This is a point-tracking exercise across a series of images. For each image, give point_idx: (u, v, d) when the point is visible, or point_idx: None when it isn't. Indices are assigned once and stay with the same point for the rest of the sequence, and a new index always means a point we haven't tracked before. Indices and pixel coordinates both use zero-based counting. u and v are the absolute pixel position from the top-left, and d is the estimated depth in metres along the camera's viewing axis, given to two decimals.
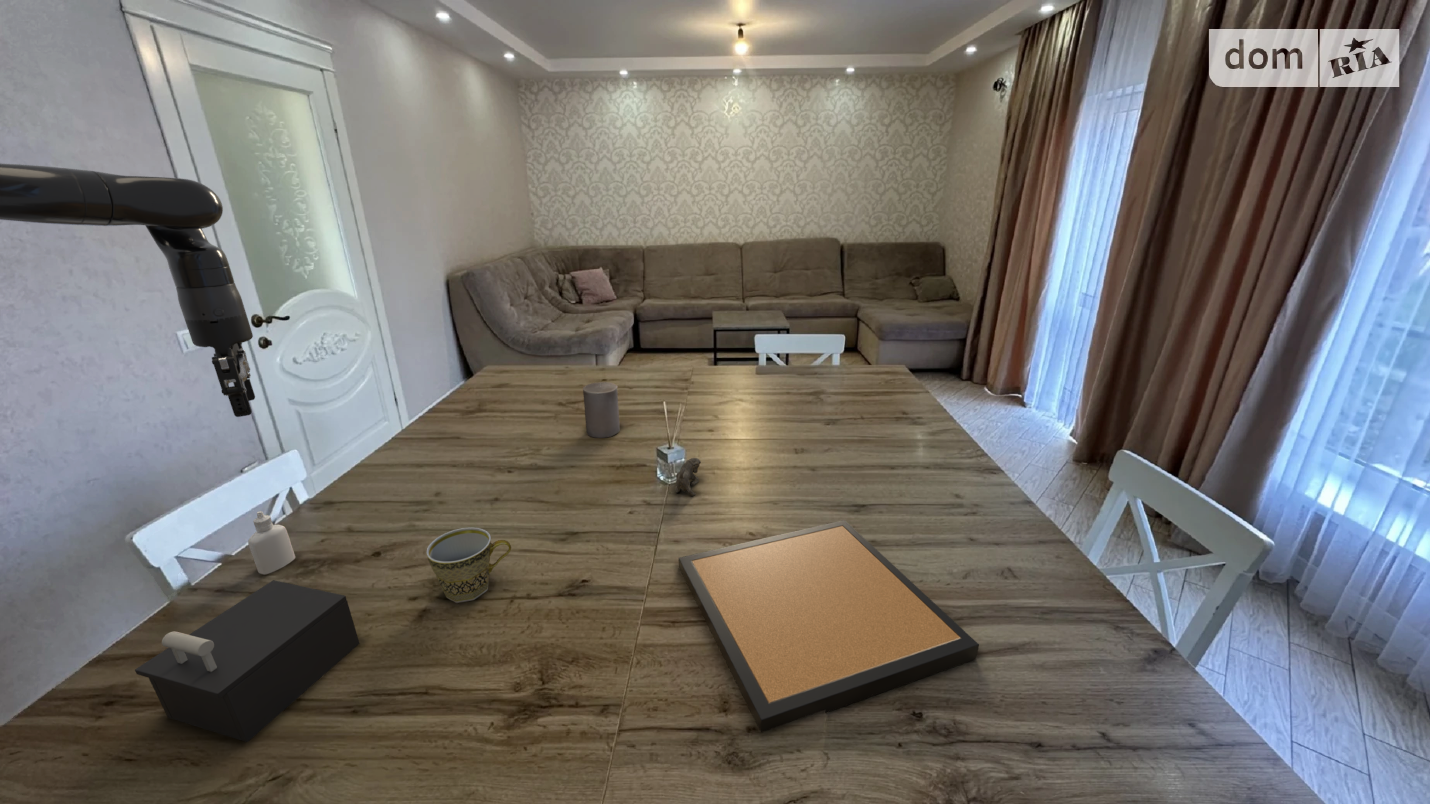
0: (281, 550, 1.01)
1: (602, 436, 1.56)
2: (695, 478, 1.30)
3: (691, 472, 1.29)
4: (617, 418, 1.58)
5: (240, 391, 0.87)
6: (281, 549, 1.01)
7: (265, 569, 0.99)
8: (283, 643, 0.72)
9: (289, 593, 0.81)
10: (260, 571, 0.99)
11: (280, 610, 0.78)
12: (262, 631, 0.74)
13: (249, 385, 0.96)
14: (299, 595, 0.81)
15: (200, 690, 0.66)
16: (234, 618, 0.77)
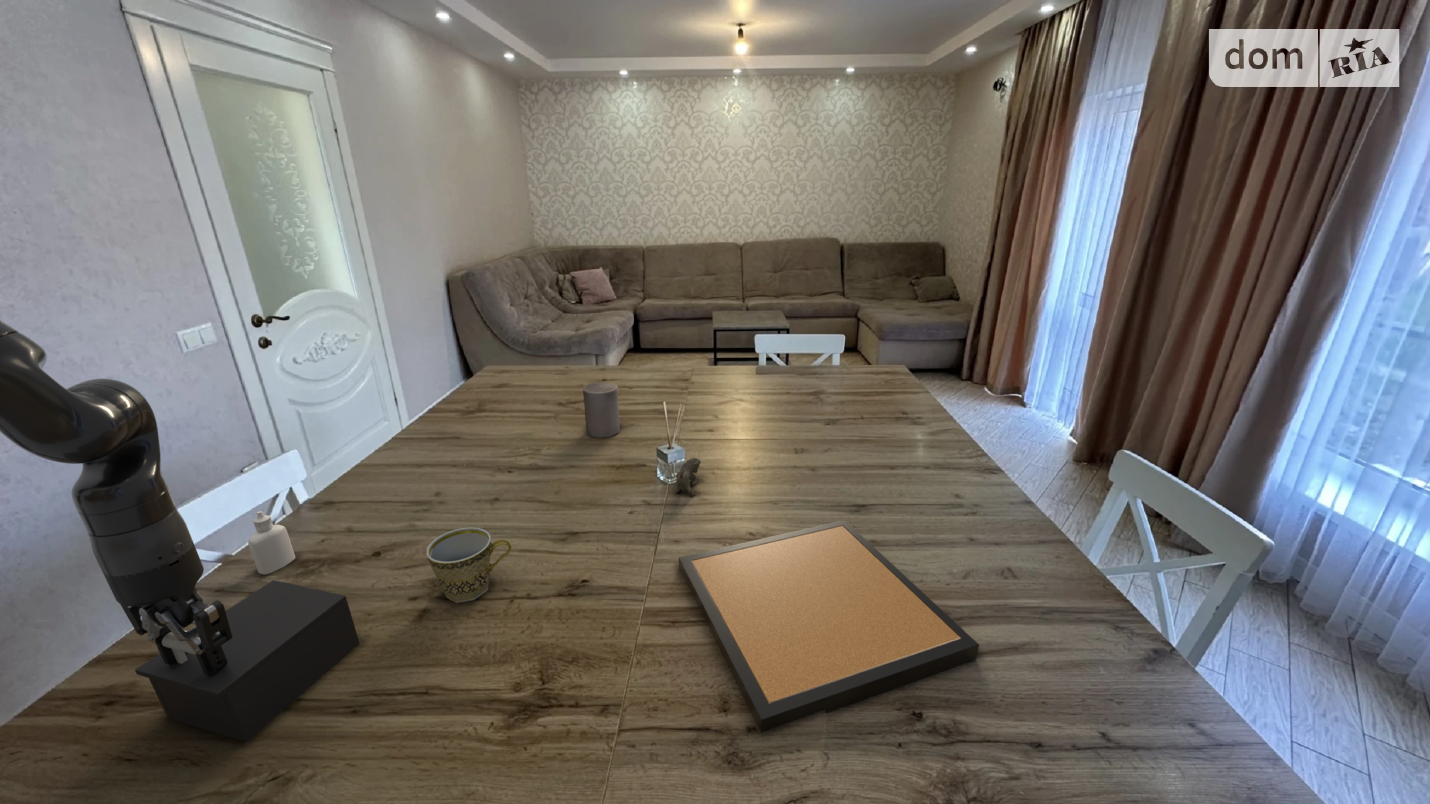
0: (281, 550, 1.01)
1: (602, 436, 1.56)
2: (695, 478, 1.30)
3: (691, 472, 1.29)
4: (617, 418, 1.58)
5: (229, 639, 0.67)
6: (281, 549, 1.01)
7: (265, 569, 0.99)
8: (283, 643, 0.72)
9: (289, 593, 0.81)
10: (260, 571, 0.99)
11: (280, 610, 0.78)
12: (262, 631, 0.74)
13: None
14: (299, 595, 0.81)
15: (200, 690, 0.66)
16: (234, 618, 0.77)
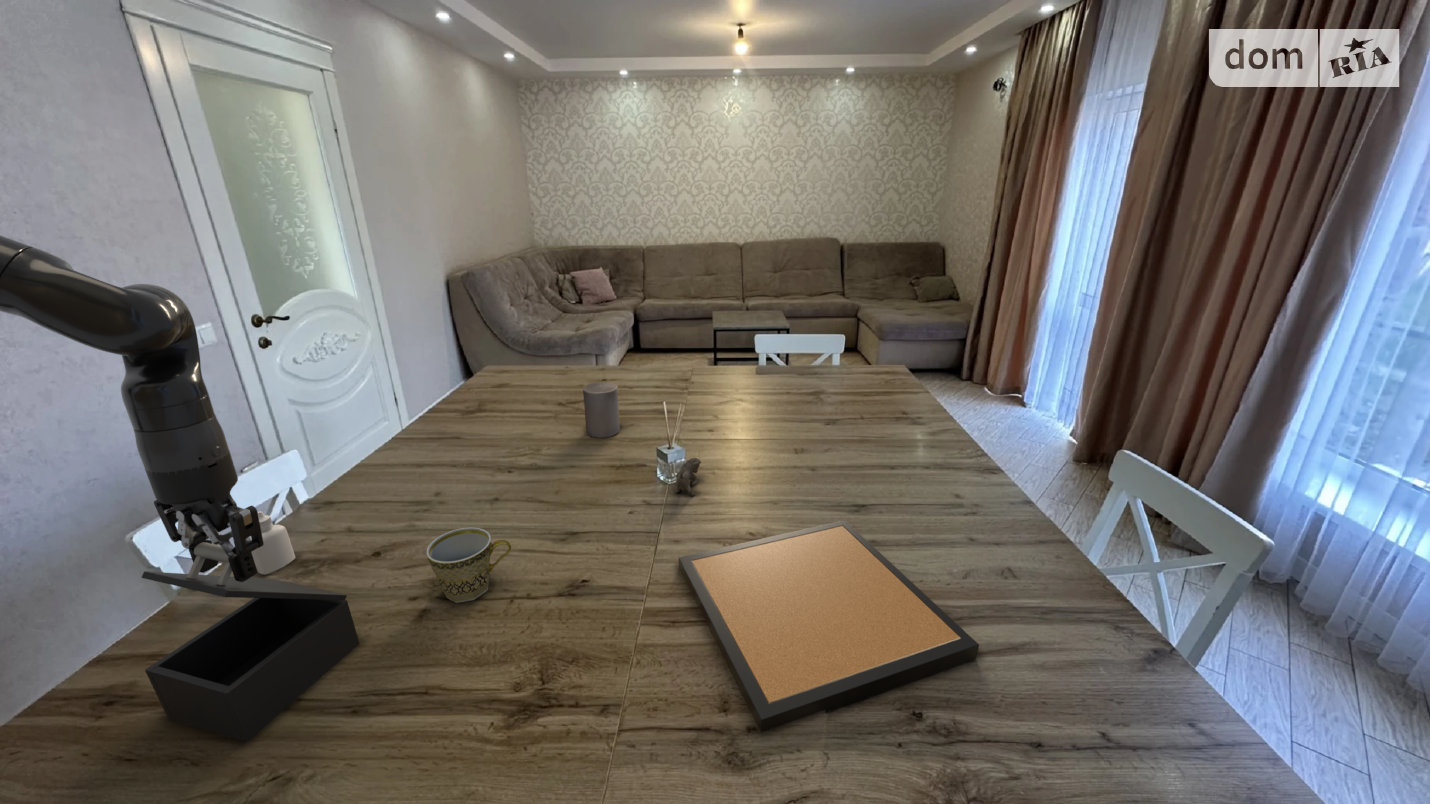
0: (281, 550, 1.01)
1: (602, 436, 1.56)
2: (695, 478, 1.30)
3: (691, 472, 1.29)
4: (617, 418, 1.58)
5: (260, 546, 0.69)
6: (281, 549, 1.01)
7: (265, 569, 0.99)
8: (288, 593, 0.72)
9: (292, 584, 0.82)
10: (260, 571, 0.99)
11: (284, 586, 0.78)
12: (268, 586, 0.74)
13: None
14: (301, 586, 0.81)
15: (208, 588, 0.66)
16: None
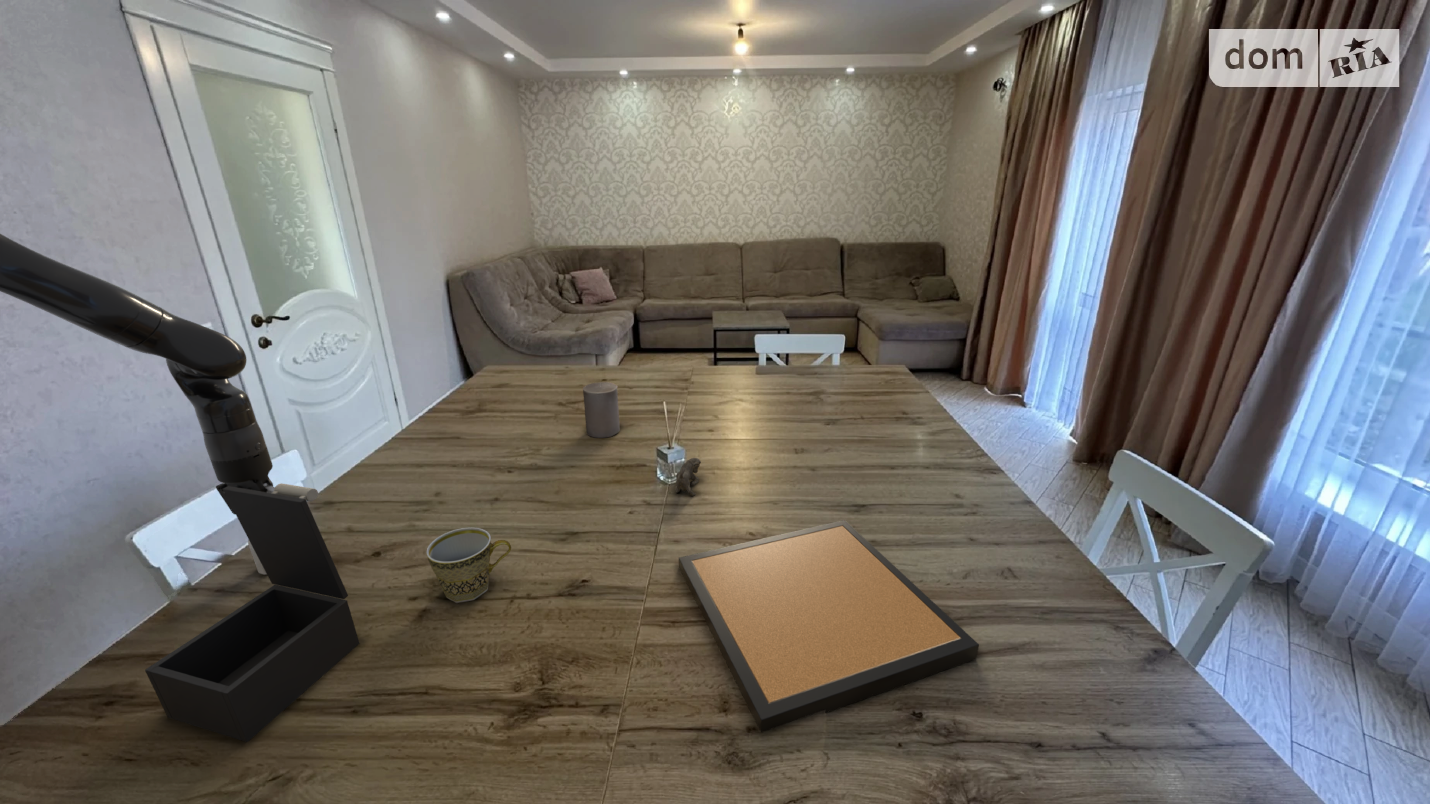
0: None
1: (602, 436, 1.56)
2: (695, 478, 1.30)
3: (691, 472, 1.29)
4: (617, 418, 1.58)
5: None
6: None
7: None
8: (325, 546, 0.77)
9: None
10: (260, 571, 0.99)
11: None
12: None
13: None
14: None
15: (287, 497, 0.74)
16: None
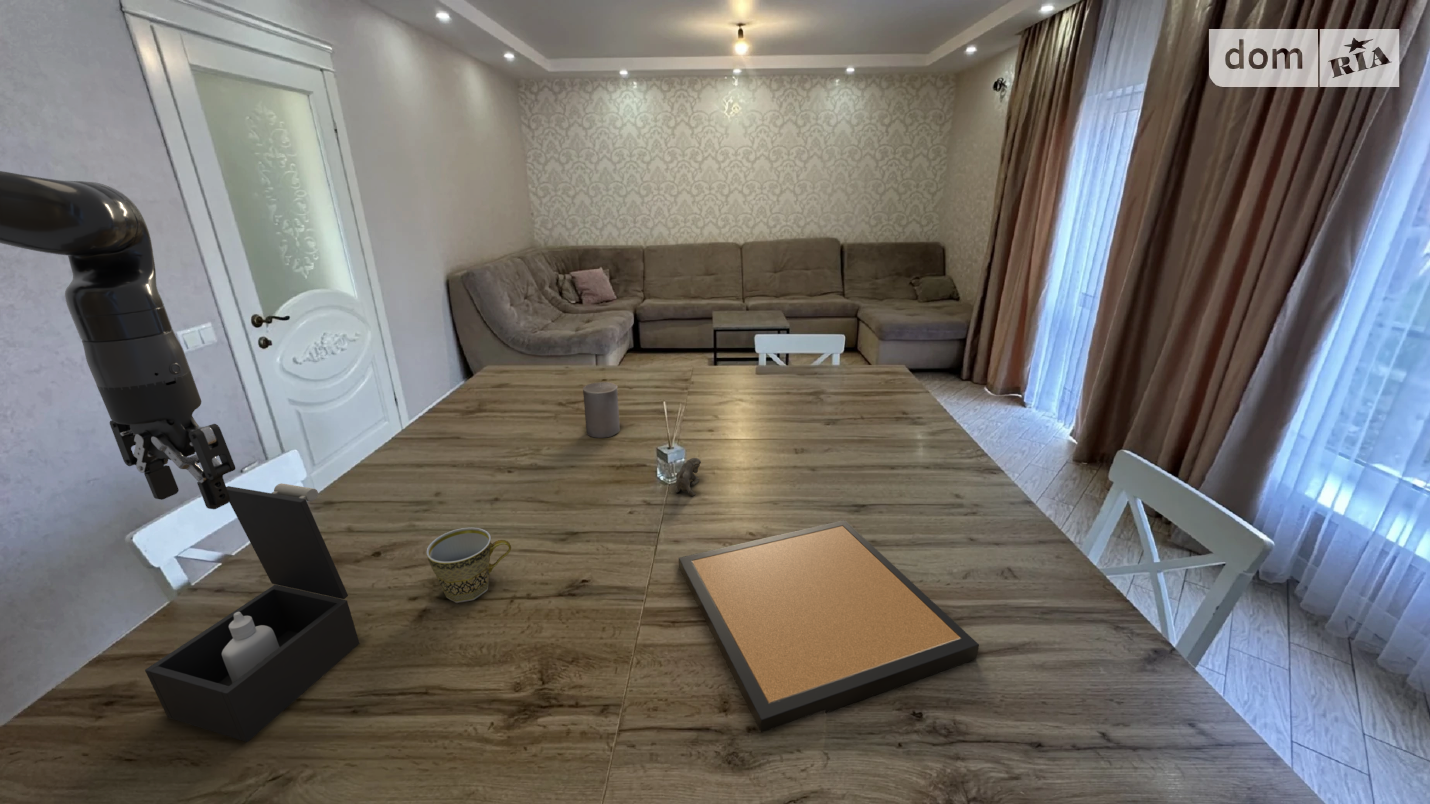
0: None
1: (602, 436, 1.56)
2: (695, 478, 1.30)
3: (691, 472, 1.29)
4: (617, 418, 1.58)
5: (232, 469, 0.64)
6: None
7: None
8: (325, 546, 0.77)
9: None
10: None
11: None
12: None
13: (170, 473, 0.68)
14: None
15: (287, 497, 0.74)
16: None
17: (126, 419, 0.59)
